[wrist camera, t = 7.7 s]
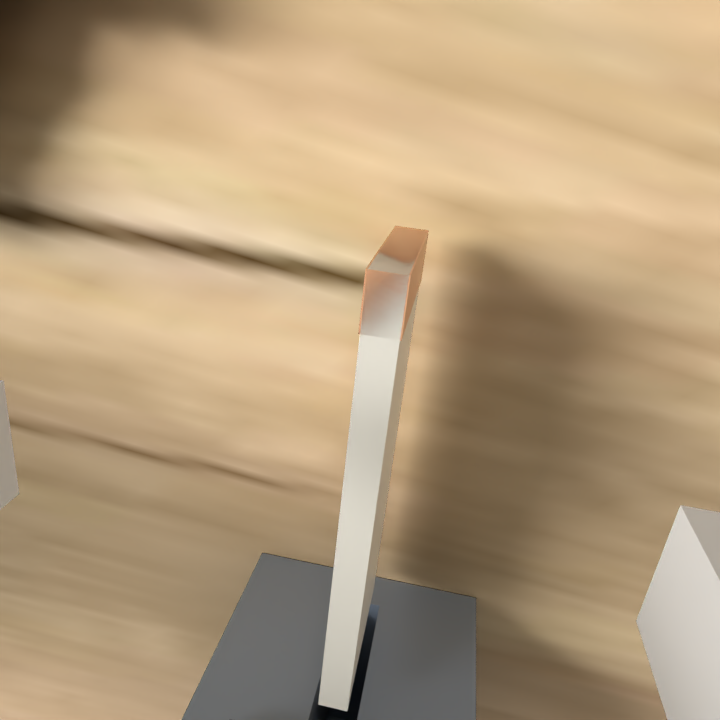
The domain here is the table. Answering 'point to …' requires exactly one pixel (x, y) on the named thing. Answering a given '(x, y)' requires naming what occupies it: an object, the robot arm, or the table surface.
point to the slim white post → (370, 451)
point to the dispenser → (307, 642)
